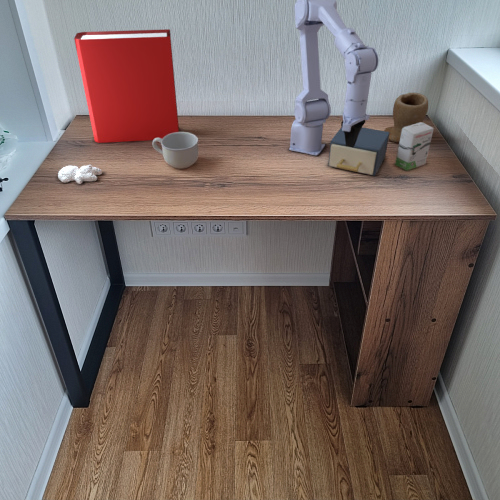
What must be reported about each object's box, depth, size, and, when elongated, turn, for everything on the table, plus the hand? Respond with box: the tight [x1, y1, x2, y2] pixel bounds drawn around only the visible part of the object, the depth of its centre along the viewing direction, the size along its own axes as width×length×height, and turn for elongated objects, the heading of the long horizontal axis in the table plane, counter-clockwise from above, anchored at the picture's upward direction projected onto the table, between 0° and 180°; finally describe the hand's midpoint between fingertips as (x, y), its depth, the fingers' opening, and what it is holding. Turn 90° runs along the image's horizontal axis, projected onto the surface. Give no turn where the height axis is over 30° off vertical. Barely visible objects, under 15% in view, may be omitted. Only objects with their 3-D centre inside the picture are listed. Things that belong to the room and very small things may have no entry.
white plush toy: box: [57, 164, 103, 185], centre depth 146 cm, size 9×12×3 cm
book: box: [73, 28, 180, 144], centre depth 159 cm, size 27×8×32 cm, turn 97°
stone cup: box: [383, 91, 429, 143], centre depth 162 cm, size 15×12×15 cm
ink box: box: [394, 122, 435, 172], centre depth 149 cm, size 9×5×12 cm, turn 123°
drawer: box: [328, 144, 377, 176], centre depth 149 cm, size 17×13×7 cm
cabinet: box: [327, 126, 390, 177], centre depth 152 cm, size 13×14×8 cm
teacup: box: [151, 131, 199, 170], centre depth 151 cm, size 14×11×8 cm
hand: (350, 146), depth 139 cm, fingers closed
